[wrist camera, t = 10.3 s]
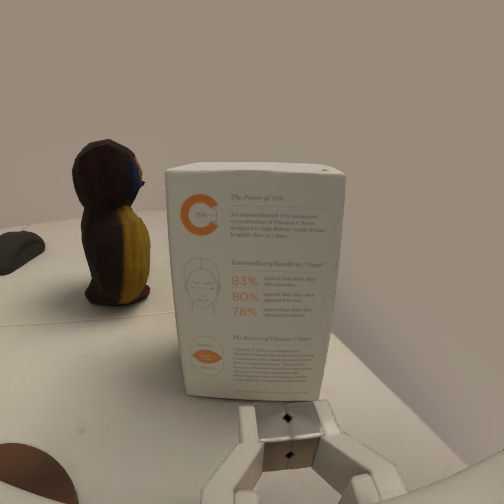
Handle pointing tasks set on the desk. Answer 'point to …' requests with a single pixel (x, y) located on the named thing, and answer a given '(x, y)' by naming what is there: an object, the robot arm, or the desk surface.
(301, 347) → the small box
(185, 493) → the desk surface
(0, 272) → the computer mouse
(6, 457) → the coaster
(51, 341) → the desk surface
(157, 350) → the desk surface
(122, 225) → the figurine
